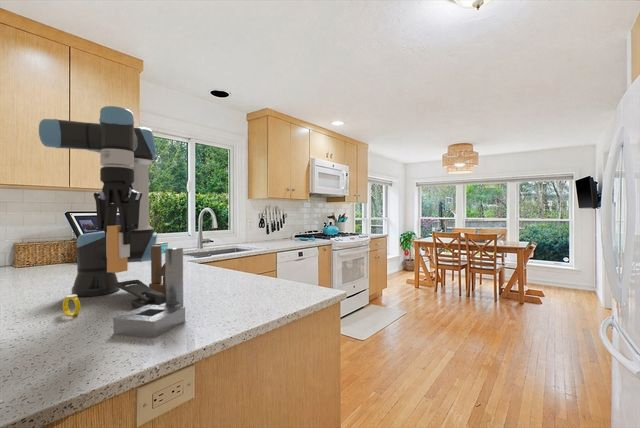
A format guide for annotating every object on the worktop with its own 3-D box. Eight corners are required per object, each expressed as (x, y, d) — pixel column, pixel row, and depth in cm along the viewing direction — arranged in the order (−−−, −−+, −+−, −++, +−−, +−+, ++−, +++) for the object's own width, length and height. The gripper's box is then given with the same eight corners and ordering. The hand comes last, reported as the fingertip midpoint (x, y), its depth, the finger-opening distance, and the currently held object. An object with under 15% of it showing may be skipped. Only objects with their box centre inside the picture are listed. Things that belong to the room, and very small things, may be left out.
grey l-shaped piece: (162, 311, 98) (162, 247, 98) (197, 314, 96) (197, 247, 95) (113, 334, 81) (112, 255, 80) (154, 337, 78) (153, 256, 78)
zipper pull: (139, 278, 116) (177, 288, 102) (139, 296, 116) (177, 308, 102) (111, 283, 109) (149, 294, 94) (112, 302, 109) (149, 316, 94)
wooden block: (169, 296, 116) (169, 247, 116) (148, 293, 120) (148, 245, 120) (177, 293, 119) (177, 246, 119) (157, 291, 124) (156, 244, 123)
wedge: (117, 270, 85) (117, 225, 85) (127, 270, 85) (127, 225, 85) (107, 272, 82) (106, 225, 82) (117, 272, 81) (117, 225, 82)
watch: (82, 315, 96) (83, 296, 96) (73, 318, 93) (73, 298, 93) (69, 312, 98) (70, 292, 98) (59, 314, 95) (60, 295, 95)
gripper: (79, 167, 82) (79, 258, 82) (131, 164, 78) (132, 260, 78) (105, 170, 89) (106, 254, 89) (154, 168, 85) (155, 255, 85)
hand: (118, 256), depth 84 cm, fingers closed on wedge, 3 cm apart
